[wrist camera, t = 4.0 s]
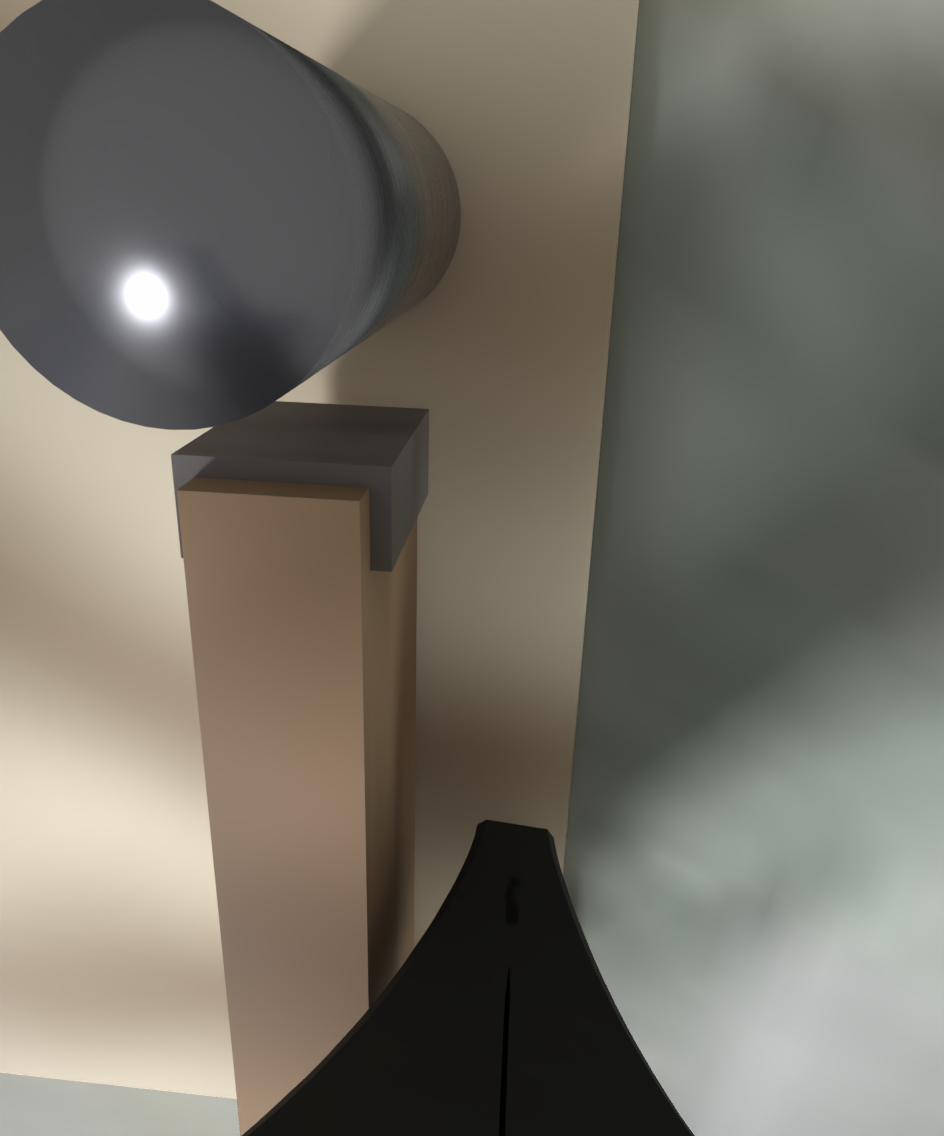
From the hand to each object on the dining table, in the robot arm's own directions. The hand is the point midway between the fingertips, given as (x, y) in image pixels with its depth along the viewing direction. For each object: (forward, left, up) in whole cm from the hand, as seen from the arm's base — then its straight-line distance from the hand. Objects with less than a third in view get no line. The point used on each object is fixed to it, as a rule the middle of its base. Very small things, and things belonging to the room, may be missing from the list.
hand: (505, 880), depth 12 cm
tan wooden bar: (+1, +2, -1) cm, 3 cm away
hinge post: (+9, +2, -1) cm, 9 cm away
